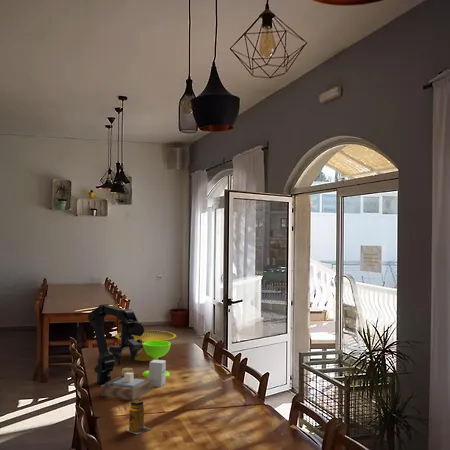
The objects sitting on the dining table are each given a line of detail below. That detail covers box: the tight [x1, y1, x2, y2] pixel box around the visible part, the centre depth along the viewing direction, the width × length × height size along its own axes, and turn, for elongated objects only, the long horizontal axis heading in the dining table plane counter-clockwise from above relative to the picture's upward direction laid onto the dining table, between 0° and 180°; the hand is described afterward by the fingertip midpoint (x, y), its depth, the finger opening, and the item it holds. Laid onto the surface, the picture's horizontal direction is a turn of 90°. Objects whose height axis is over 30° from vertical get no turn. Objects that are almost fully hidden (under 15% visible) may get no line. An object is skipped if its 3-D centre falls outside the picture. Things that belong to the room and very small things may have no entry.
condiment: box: [125, 399, 152, 435], centre depth 230 cm, size 7×8×12 cm
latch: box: [121, 367, 134, 376], centre depth 294 cm, size 4×4×3 cm
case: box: [100, 375, 151, 401], centre depth 282 cm, size 18×18×6 cm
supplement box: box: [148, 359, 167, 388], centre depth 300 cm, size 7×7×13 cm
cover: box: [112, 372, 145, 388], centre depth 282 cm, size 12×12×5 cm
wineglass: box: [141, 341, 172, 379], centre depth 321 cm, size 16×16×18 cm
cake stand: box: [114, 329, 177, 362], centre depth 361 cm, size 40×40×15 cm
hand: (125, 364), depth 289 cm, fingers open, 9 cm apart
